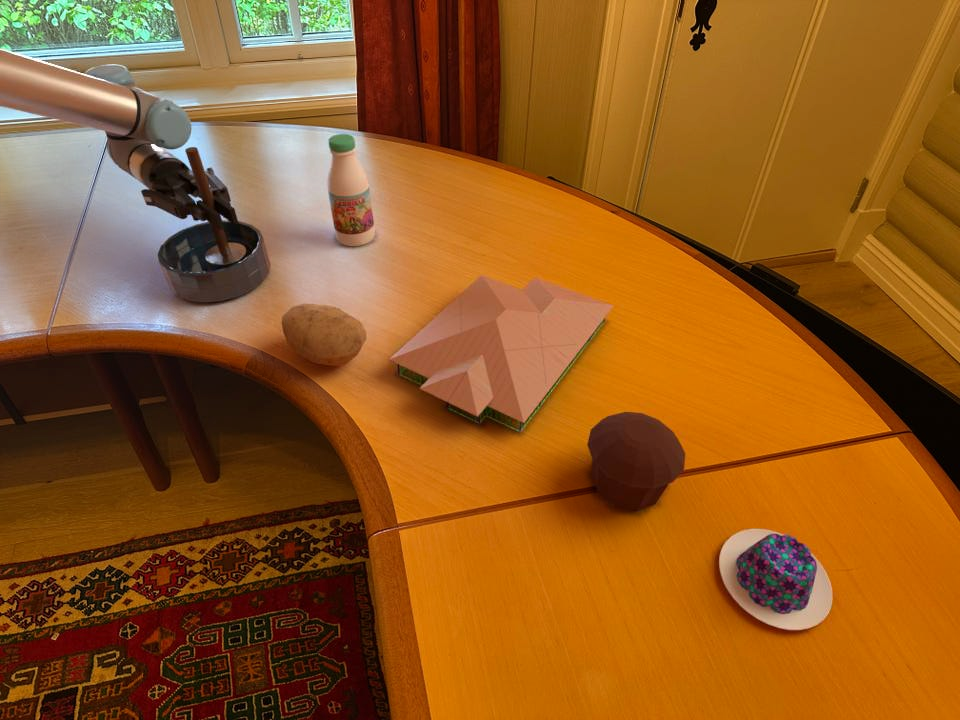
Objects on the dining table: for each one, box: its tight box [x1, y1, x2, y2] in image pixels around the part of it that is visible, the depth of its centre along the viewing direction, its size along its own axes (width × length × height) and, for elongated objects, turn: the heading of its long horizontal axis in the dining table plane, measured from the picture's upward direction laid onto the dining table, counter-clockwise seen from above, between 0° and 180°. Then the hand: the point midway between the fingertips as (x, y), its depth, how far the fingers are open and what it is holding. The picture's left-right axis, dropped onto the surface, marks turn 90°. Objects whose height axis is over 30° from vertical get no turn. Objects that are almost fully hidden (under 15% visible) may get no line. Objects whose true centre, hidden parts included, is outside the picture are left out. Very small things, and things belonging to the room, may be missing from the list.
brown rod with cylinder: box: [184, 146, 248, 272], centre depth 102 cm, size 7×7×22 cm
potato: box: [281, 303, 367, 367], centre depth 92 cm, size 10×14×8 cm
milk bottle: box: [326, 133, 376, 247], centre depth 113 cm, size 8×8×20 cm
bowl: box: [157, 219, 272, 303], centre depth 108 cm, size 17×17×6 cm
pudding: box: [718, 528, 833, 631], centre depth 66 cm, size 12×12×5 cm
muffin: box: [586, 411, 686, 512], centre depth 74 cm, size 12×11×10 cm
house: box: [388, 274, 615, 433], centre depth 93 cm, size 23×33×8 cm
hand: (227, 219), depth 98 cm, fingers closed on brown rod with cylinder, 2 cm apart
